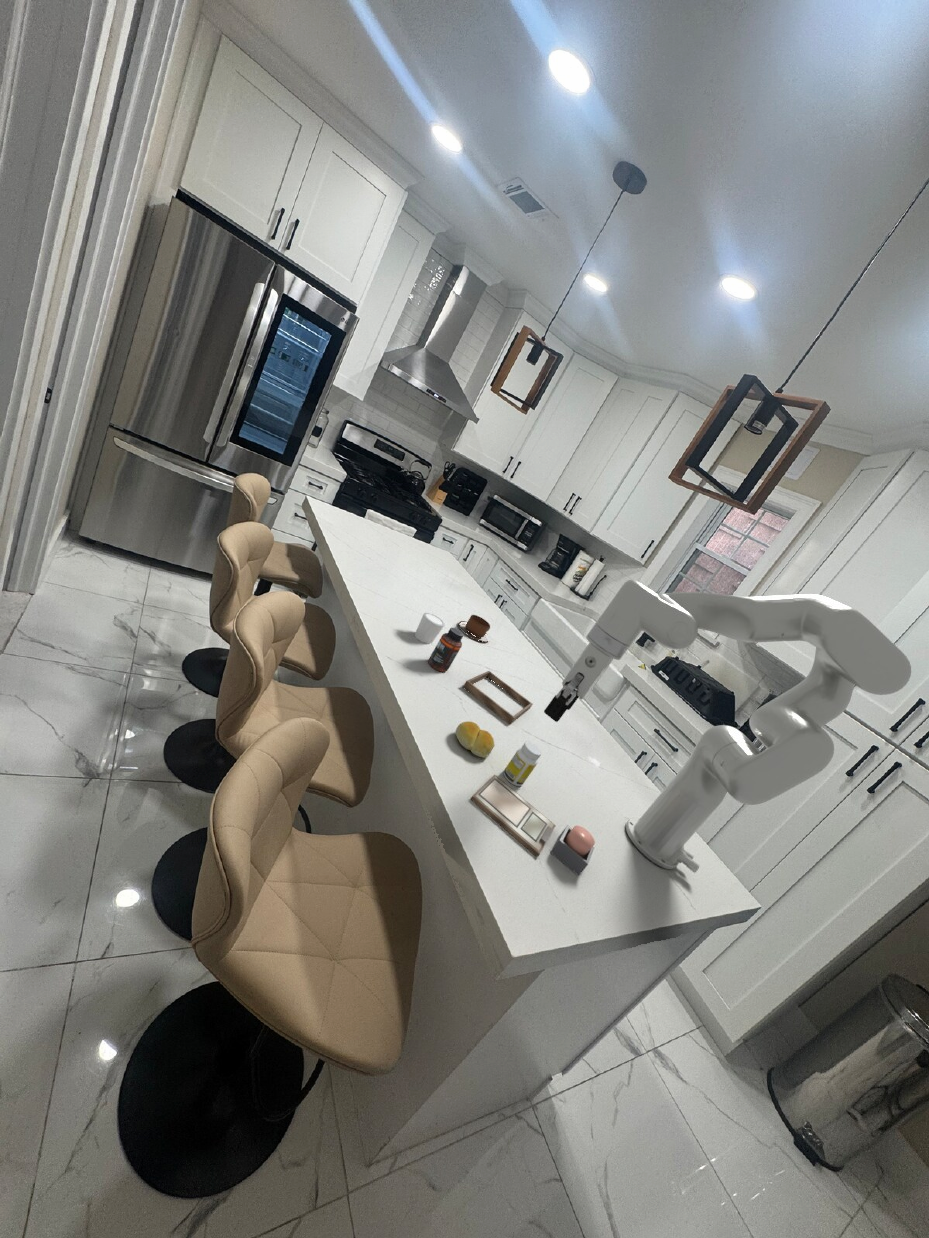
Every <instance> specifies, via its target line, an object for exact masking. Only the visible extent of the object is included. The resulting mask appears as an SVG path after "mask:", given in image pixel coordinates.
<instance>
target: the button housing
mask: <svg viewBox="0 0 929 1238" xmlns="http://www.w3.org/2000/svg"><path fill="white" fill-rule="evenodd" d="M572 829H573V828H571V827H570V826H569V825H566V827H565V828H564V829H563V830H562V831H561V833H560V834H559V835H558V837H557V839H556V841H555V843H554V845H553V847H552V848H551V851H550V853H551V855H553V856H555V857H556V858H557V859H558V860H559V861H561V862H562V863H563V864H564V865H565V866H566V867H567V868H568V869H570V871H572V872H573V873H575V874H576V875H577V876H578V877H579V876H580V875H581V874H582V873H583V871H584V870H585V869H586V867H587V866H588V865H589V863H590V860H591V858H592V855H593V852H594V851H595V846H593V847H592V848H591V849H590V850H589V852H588V853H587V854H586V855H585V857H583V858H582V857H581V856H580V855H579V854H578V853H576V852H575V851H574V850H573V849H572V848H570V847H569V846H568V845H567V844H566V843H565V838H566V837H567V835H568V834H569V833H570V831H571V830H572Z"/></svg>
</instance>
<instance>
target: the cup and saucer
mask: <svg viewBox="0 0 929 1238" xmlns="http://www.w3.org/2000/svg"><path fill="white" fill-rule="evenodd" d="M461 622H467V624H466V625H464V626H465V628H466V629H463V628H462V626H461V625H459V623H461ZM459 623H458V627H459V626H460V628H461V629H462V630H463V631H464V632H465V633H467V634H468V635H469V636H470V637H472V638H474V639H476V640H479V641H483V642H486V643H489V642H488V641H487V640H481V639H480V638H476V637H482V638H484V637H485V636H484V635H485V634H487V632H488V631H490V629H491V624H490V623H489V622H488V621H487V620H486V619H484V618H483V617H480V616H479V615H476V614H471V615H470V617H469V618H468V620H467V621H465V620H461V621H459ZM460 628H459V629H460ZM461 629H460V630H461ZM466 630H468V631H469V633H472V634H473V635H475V636H476V637H473V636H472V635H470V634H469V633H468V632H467V631H466ZM469 636H468V637H469ZM470 637H469V638H470ZM472 638H471V639H472ZM474 639H473V640H474ZM476 640H475V641H476Z"/></svg>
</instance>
